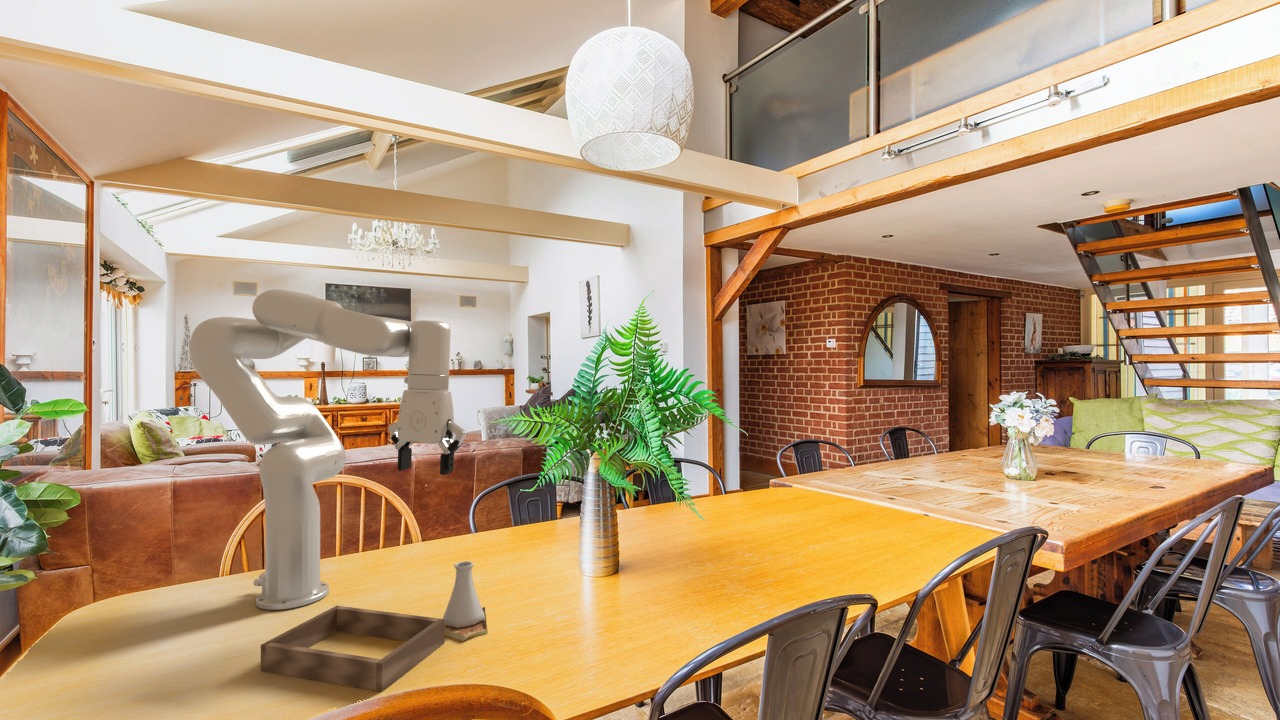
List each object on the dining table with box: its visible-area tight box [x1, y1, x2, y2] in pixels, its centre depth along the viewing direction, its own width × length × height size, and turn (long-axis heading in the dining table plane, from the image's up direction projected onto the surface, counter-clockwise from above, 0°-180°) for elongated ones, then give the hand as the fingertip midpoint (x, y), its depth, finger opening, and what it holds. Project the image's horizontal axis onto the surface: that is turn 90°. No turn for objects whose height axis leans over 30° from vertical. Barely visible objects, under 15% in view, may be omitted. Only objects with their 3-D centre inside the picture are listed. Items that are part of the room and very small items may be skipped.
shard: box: [445, 606, 489, 642], centre depth 103 cm, size 11×8×2 cm
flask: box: [442, 560, 485, 628], centre depth 104 cm, size 7×7×10 cm
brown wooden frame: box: [260, 605, 446, 693], centre depth 93 cm, size 22×15×4 cm
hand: (425, 471), depth 113 cm, fingers open, 9 cm apart
